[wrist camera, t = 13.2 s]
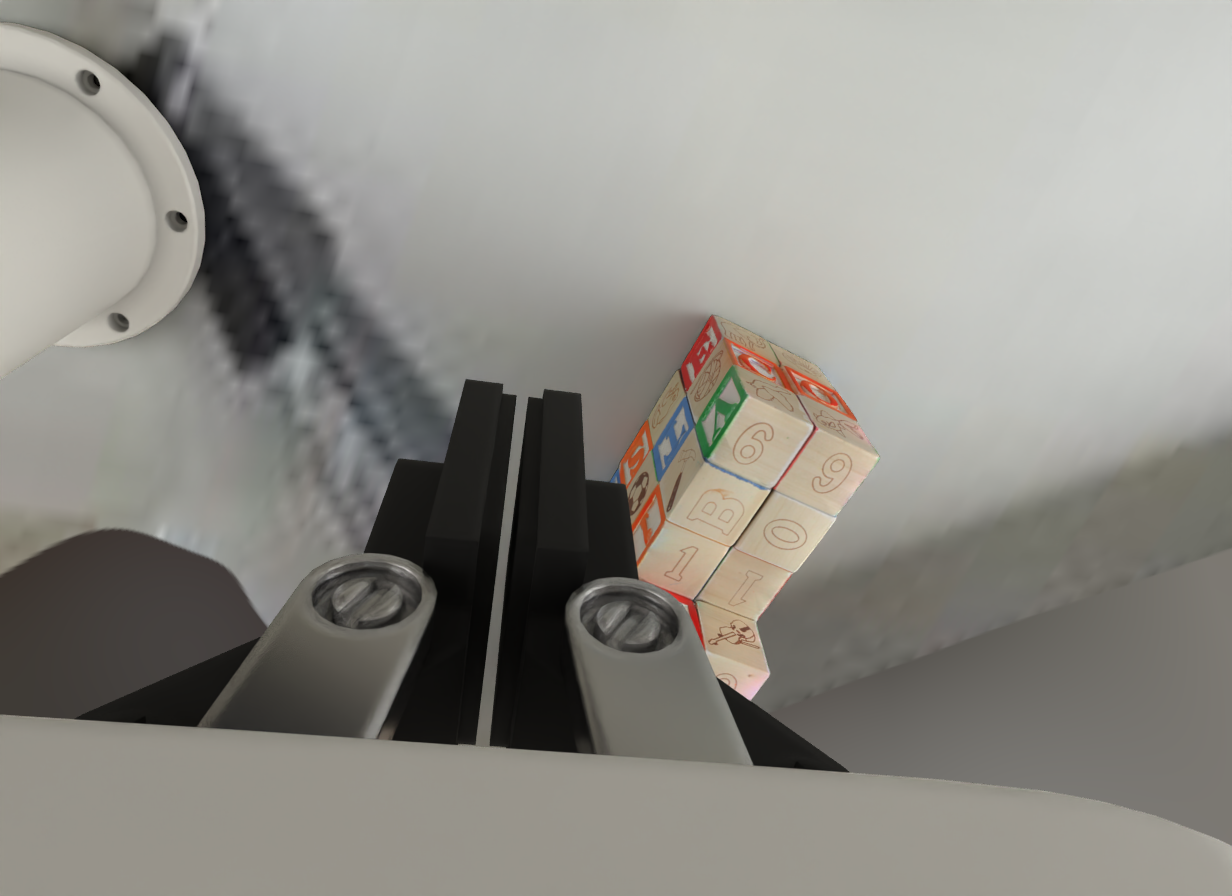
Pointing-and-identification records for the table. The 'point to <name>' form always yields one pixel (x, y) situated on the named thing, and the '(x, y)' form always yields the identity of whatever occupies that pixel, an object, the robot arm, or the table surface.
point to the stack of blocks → (738, 486)
